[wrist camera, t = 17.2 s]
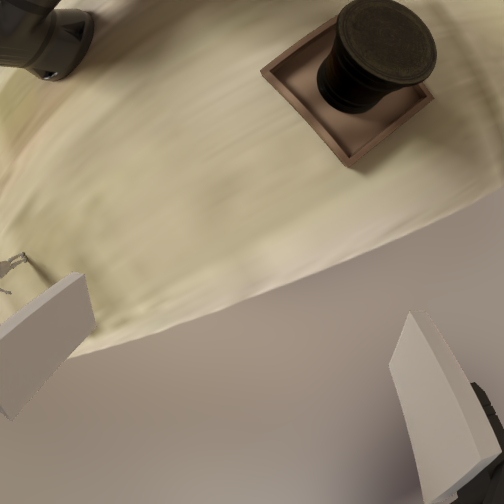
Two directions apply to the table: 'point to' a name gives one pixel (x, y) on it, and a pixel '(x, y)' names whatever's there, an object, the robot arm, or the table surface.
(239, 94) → the table surface
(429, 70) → the container
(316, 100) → the walnut tray
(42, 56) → the robot arm
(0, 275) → the human figurine
